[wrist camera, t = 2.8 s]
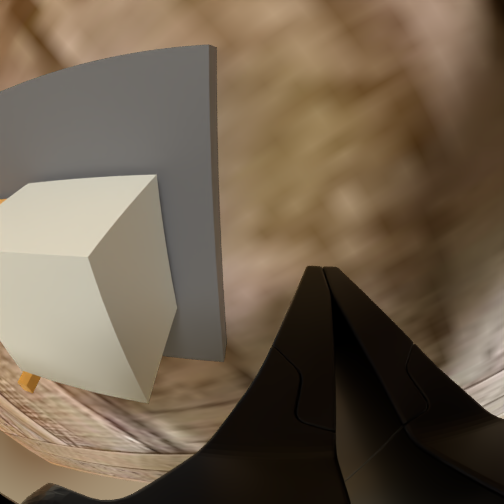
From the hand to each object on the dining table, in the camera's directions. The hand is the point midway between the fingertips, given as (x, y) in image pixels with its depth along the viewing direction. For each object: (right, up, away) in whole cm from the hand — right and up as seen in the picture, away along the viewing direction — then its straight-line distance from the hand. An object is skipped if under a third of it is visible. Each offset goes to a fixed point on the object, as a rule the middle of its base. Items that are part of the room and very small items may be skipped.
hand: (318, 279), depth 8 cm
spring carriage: (-7, +1, +1) cm, 7 cm away
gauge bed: (-13, +2, +3) cm, 13 cm away
